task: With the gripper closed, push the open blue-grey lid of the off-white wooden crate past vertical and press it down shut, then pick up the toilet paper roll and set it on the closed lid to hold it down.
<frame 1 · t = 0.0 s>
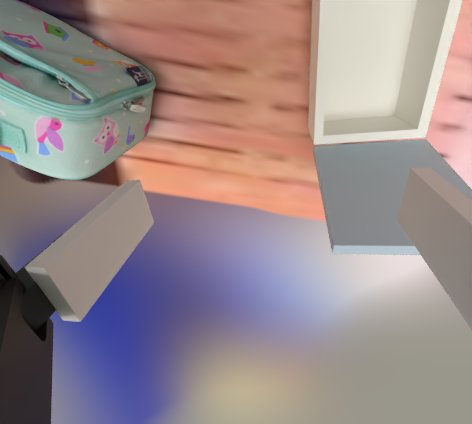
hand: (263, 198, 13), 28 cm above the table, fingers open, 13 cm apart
crate: (359, 59, 32), on the table
lid: (387, 186, 24), point 16 cm above the table, hinge at 100.0°
lunch box: (87, 68, 38), on the table
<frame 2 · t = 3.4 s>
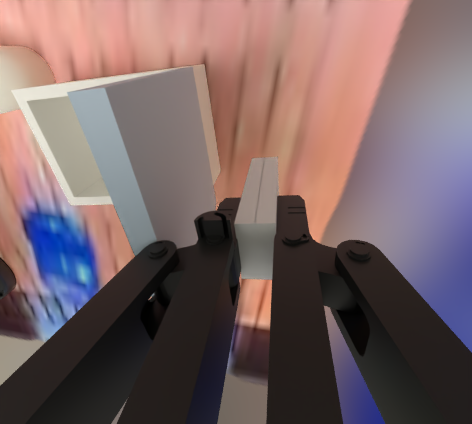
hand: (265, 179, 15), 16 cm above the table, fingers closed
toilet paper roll: (31, 76, 30), on the table
crate: (150, 128, 31), on the table
lid: (186, 179, 16), point 16 cm above the table, hinge at 98.4°, touching gripper
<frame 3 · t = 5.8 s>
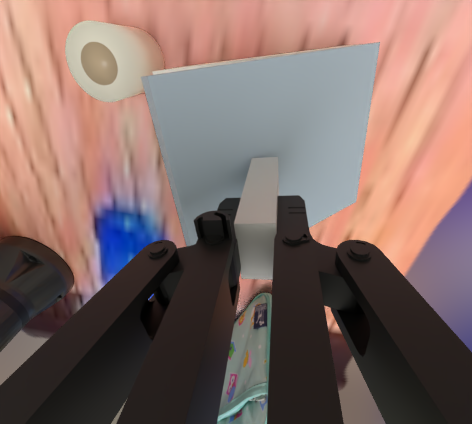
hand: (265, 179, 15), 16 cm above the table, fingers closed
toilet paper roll: (137, 61, 28), on the table
crate: (262, 118, 29), on the table
lid: (286, 161, 17), point 14 cm above the table, hinge at 41.7°, touching gripper
lunch box: (258, 323, 49), on the table
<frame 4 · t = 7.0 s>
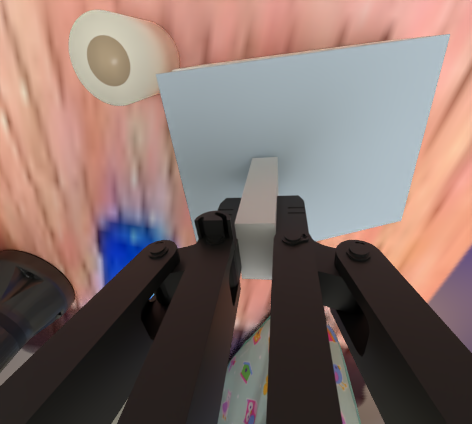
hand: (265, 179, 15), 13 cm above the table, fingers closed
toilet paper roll: (149, 59, 24), on the table
crate: (288, 122, 26), on the table
lid: (306, 164, 16), point 11 cm above the table, hinge at 20.5°, touching gripper
lunch box: (272, 340, 46), on the table
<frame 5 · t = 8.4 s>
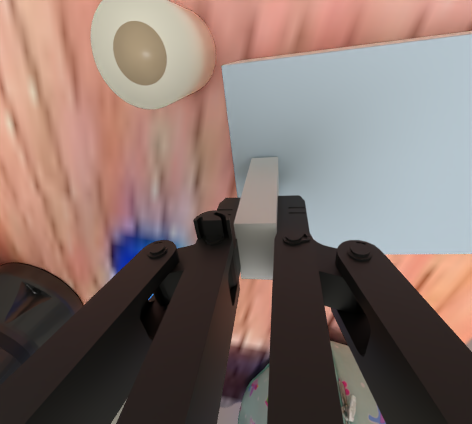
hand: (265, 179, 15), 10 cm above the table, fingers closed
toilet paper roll: (179, 53, 21), on the table
crate: (340, 128, 22), on the table
lid: (370, 168, 15), point 9 cm above the table, hinge at 1.7°, touching gripper
lunch box: (298, 362, 42), on the table
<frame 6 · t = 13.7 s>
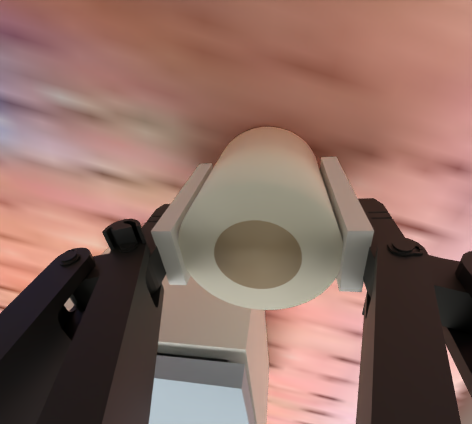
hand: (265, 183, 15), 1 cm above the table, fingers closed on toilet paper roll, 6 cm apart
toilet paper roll: (266, 178, 15), point 1 cm above the table, touching gripper
crate: (200, 311, 24), on the table
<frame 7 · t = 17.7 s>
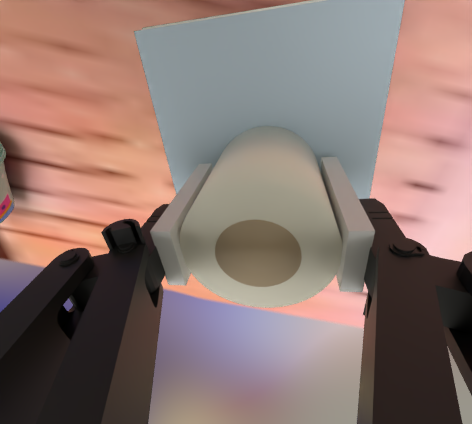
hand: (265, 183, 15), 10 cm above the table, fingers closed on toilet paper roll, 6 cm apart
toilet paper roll: (266, 177, 15), point 9 cm above the table, touching gripper, lid
crate: (271, 133, 23), on the table
lid: (266, 171, 16), point 9 cm above the table, hinge at -0.3°, touching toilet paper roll
when the fingers open (10 cm above the table, at t = 17.7 s): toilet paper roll stays where it is, resting on lid.
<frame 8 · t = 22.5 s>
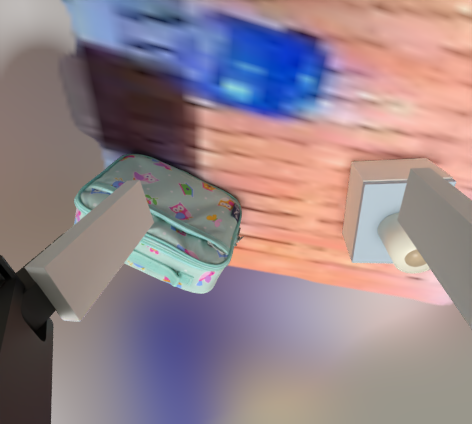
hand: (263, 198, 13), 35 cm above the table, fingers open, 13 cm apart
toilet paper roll: (397, 228, 41), point 9 cm above the table, touching lid
crate: (379, 199, 49), on the table
lid: (396, 225, 42), point 9 cm above the table, hinge at -0.3°, touching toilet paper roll
lunch box: (188, 191, 55), on the table
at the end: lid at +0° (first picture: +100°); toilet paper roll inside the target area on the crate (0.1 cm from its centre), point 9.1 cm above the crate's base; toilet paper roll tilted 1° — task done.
